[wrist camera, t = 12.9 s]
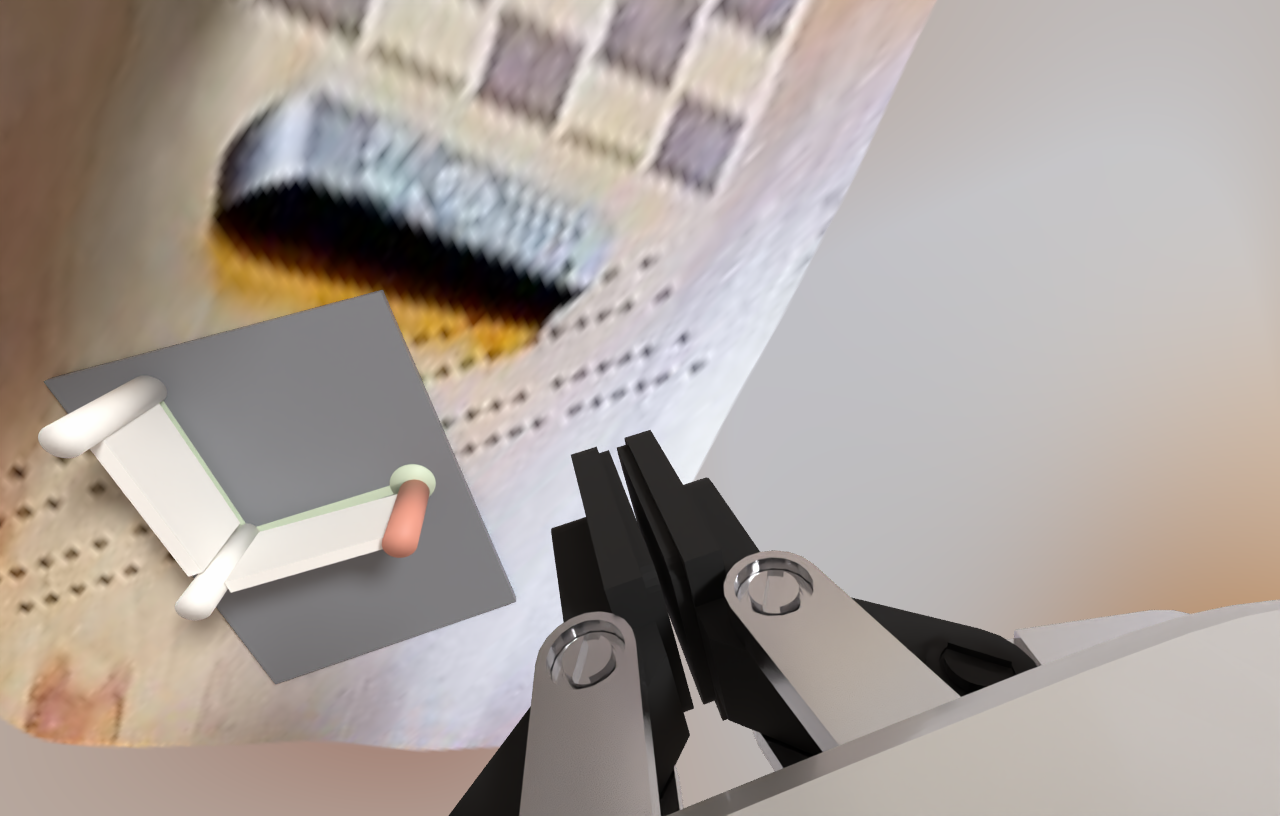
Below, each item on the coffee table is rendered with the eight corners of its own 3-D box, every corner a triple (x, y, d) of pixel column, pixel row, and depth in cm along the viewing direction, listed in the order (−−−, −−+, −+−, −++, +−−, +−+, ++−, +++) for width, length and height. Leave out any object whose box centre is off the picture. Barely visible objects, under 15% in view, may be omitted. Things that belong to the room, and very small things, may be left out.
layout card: (51, 377, 31) (41, 381, 31) (382, 289, 33) (380, 291, 33) (278, 677, 42) (275, 685, 42) (515, 596, 44) (515, 602, 44)
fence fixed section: (122, 380, 32) (28, 430, 25) (155, 371, 32) (69, 419, 25) (240, 549, 37) (186, 624, 31) (267, 540, 37) (219, 613, 31)
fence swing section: (271, 544, 37) (231, 607, 31) (256, 521, 36) (213, 581, 31) (433, 499, 38) (422, 551, 33) (423, 476, 38) (410, 525, 32)
